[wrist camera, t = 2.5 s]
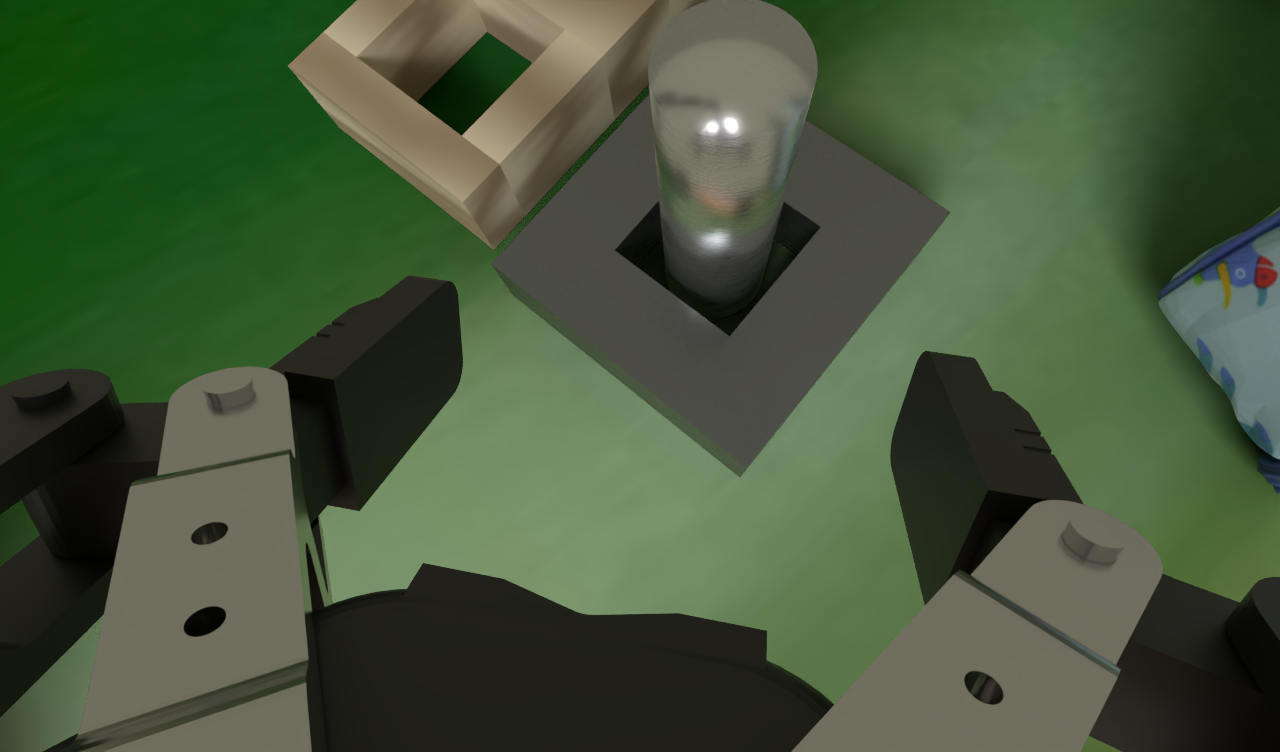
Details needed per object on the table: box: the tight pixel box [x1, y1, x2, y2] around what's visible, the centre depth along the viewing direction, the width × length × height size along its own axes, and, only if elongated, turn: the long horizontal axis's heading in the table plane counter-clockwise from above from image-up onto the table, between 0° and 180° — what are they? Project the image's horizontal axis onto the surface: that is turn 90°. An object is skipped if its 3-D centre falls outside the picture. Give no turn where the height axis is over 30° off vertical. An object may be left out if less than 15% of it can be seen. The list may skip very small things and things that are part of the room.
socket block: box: [492, 94, 950, 477], centre depth 26 cm, size 12×12×3 cm
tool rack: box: [288, 0, 710, 249], centre depth 29 cm, size 20×10×4 cm, turn 140°
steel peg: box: [648, 0, 818, 318], centre depth 21 cm, size 4×4×12 cm
